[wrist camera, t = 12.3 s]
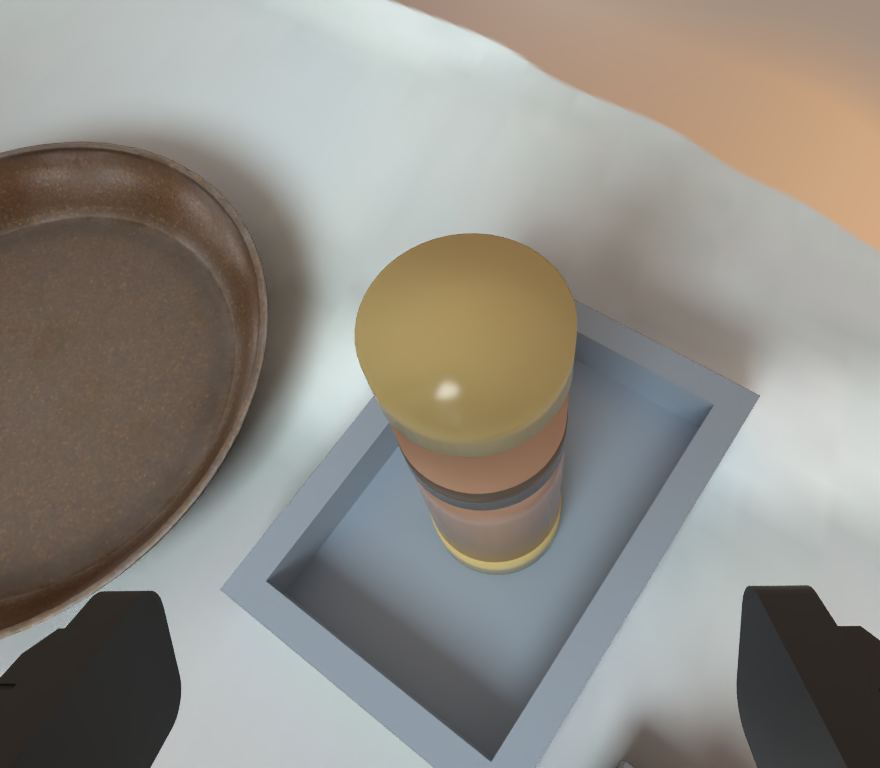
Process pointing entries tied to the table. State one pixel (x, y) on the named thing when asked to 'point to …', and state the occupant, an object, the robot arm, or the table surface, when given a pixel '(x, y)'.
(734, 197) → the table surface
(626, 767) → the fuse block
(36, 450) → the plant saucer
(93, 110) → the table surface
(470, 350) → the cylinder
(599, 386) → the parts tray
